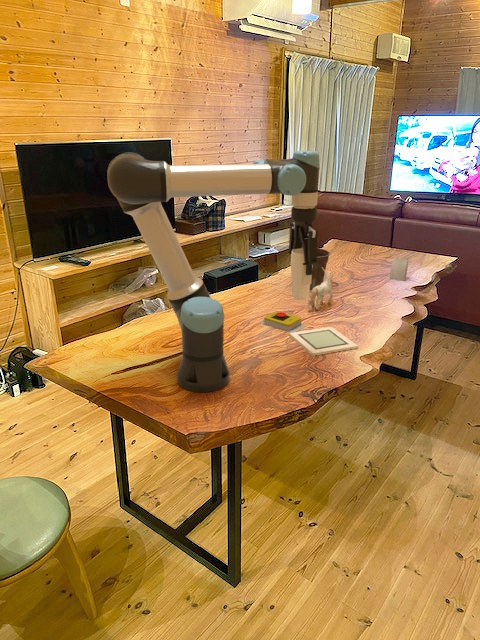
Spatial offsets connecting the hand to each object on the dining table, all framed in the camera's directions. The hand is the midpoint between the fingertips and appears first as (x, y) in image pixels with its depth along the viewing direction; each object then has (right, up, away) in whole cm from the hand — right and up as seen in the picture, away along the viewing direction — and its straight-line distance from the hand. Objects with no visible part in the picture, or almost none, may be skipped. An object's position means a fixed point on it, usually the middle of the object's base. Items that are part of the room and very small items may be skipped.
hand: (301, 280), depth 152 cm
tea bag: (+57, +7, +83) cm, 101 cm away
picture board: (+9, -20, +15) cm, 26 cm away
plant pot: (+13, +3, +70) cm, 72 cm away
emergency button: (-3, -15, +29) cm, 32 cm away
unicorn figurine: (+12, -6, +48) cm, 50 cm away
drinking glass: (0, -5, +2) cm, 6 cm away
